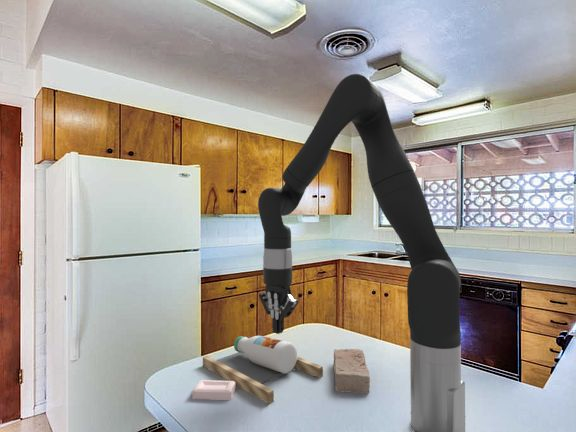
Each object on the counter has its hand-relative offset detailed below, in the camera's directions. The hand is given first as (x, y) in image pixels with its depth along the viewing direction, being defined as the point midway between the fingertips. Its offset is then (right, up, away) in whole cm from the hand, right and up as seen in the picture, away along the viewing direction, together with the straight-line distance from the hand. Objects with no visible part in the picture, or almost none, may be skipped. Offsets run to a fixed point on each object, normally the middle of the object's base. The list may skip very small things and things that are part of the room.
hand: (277, 332), depth 88 cm
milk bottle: (+3, -8, +2) cm, 8 cm away
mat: (-8, -12, +8) cm, 16 cm away
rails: (-5, -12, +5) cm, 14 cm away
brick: (+19, -13, +1) cm, 23 cm away
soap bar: (-15, -13, -7) cm, 21 cm away
